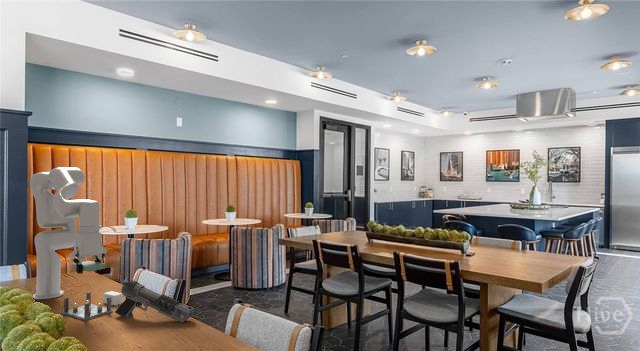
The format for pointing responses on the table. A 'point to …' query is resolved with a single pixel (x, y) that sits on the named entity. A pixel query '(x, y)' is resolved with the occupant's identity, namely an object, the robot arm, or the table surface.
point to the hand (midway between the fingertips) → (88, 271)
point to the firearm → (151, 302)
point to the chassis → (87, 309)
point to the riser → (113, 297)
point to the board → (90, 266)
